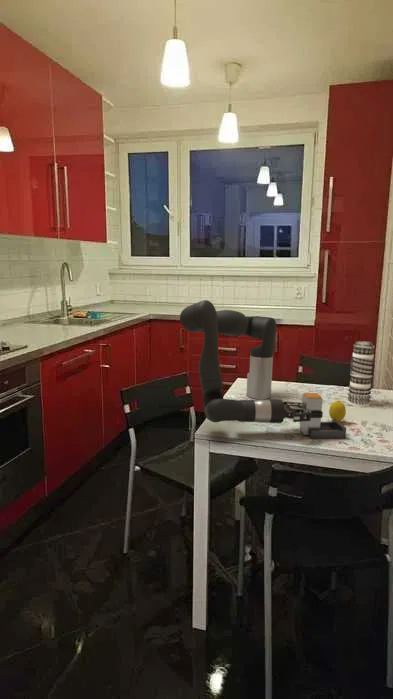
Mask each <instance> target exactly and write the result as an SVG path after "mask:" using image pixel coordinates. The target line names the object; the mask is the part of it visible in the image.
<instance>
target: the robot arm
mask: <svg viewBox="0 0 393 699" xmlns="http://www.w3.org/2000/svg"><path fill="white" fill-rule="evenodd" d="M179 322H180V324H181V326H182V328H184V330H186V331H187V332H189V333H192V334H193V333H194V334H195V333H204V342H203V347H202V350H201V354H200V358H199V362H198V374H199V381H200V386H201V390H202V400H203V401H202V402H203V410H204V415H205V417H206V419H207V420H209V422H212V423H220V422H233V421H234V422H235V421H236V422H240V423H257V424H258V423H259V424H282V423H283V422H284V419H289V420H292V422H294V423H300V422H302V421H311V418H321V419H322V418H323V415H324V414H323V411H310V410H304V409H303V408H301V407H302V402H301V401H300V402H296V401H286V400H284V401H283V399H281V398H279V399H271V397H272V396H271V395H272V382H273V381H272V380H273V362H274V360H273V359H274V352H275V348H276V347H275V346H276V338H277V320H275V318H273V317H271V316H270V317H269V316H260V315H256V316H255V315H253V316H252V315H251V316H249V315H248V316H247V315H245V314H244V313H243V312H240V311H237V310H236V311H235V310H233V309H232V310H231V309H222V310H217V309H216V307H215V306H214V304H213V303H212V302H211V301H209V300H208V299H203V300H201V301H198V302H195V303H193V304H190V305H188V306H186V307H185V308H183V309H182V311H181V312H180V314H179ZM219 335H223V336H232V337H239V336H242V335H243V336H247V337H249V338H252V339H256V340H257V339H258V340H262V341H261V344H260V345H258V346H255V347H252V348H251V349H250V353H249V354H250V356H249V372H247V375H246V395H245V396H248V397H249V398H251V399H239V400H238V399H229V398H224V394H223V388H224V383H223V377H222V371H221V365H220V357H219V355H220V354H219ZM304 412H305V413H304ZM305 415H307V416H305Z"/></svg>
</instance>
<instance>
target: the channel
mask: <svg viewBox="0 0 393 699" xmlns="http://www.w3.org/2000/svg"><path fill="white" fill-rule="evenodd" d="M346 436H347V427H346V426H344V425H343V424H342V422H340V421H338V420H337V419H331V421H321V423H320V430H310V435H309V438H310V439H311V440H330V439H331V440H332V439H333V440H336V439H337V440H341V439H346V438H347V437H346Z"/></svg>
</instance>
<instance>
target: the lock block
mask: <svg viewBox="0 0 393 699" xmlns="http://www.w3.org/2000/svg"><path fill="white" fill-rule="evenodd" d="M301 404H302V407H301V408H303V409H304V410H310V411H322V409H323V398H322V396H321V395H320V394H319V393H318V392H303V394H302V395H301ZM322 412H323V411H322ZM304 413H305V412H304ZM305 416H307V415H305ZM321 420H322V418H311V421H302V422H299V430H300V432H301V433H302V434H303V435H304V436H310V430H320V423H321V422H322V421H321Z"/></svg>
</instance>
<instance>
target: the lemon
mask: <svg viewBox="0 0 393 699" xmlns="http://www.w3.org/2000/svg"><path fill="white" fill-rule="evenodd" d="M346 410H347V409H346V406H345V404H344V403H343V402H342V401H340V400H336V401H333V402H331V404H330V406H329V410H328V413H329V417H330V418H331V420H332V419H337V420H338V421H339V422H340V421H342V420H344V419H345V417H346V414H347V413H346V412H347V411H346Z"/></svg>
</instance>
